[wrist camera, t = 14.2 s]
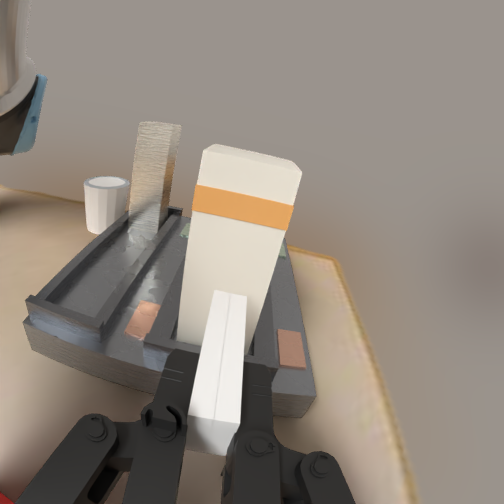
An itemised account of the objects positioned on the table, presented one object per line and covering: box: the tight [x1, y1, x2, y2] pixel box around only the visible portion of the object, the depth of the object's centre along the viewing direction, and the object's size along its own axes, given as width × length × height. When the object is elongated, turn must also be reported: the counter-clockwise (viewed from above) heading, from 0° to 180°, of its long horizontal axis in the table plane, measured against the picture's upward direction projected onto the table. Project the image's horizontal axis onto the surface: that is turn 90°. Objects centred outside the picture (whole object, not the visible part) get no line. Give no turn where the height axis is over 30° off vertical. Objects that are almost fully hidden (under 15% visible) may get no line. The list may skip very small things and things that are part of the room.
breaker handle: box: [177, 144, 302, 355], centre depth 18 cm, size 5×4×13 cm
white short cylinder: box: [84, 176, 130, 235], centre depth 37 cm, size 7×7×7 cm
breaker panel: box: [23, 121, 316, 418], centre depth 27 cm, size 22×27×16 cm
